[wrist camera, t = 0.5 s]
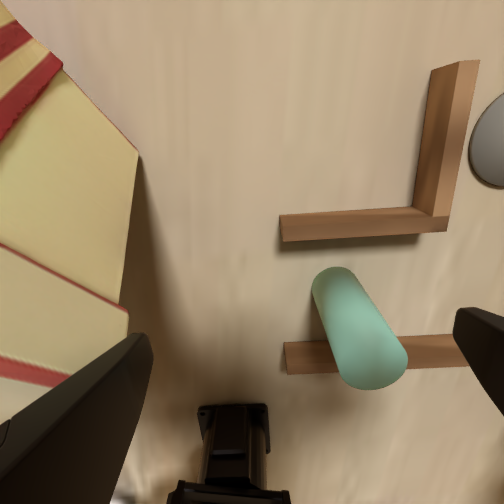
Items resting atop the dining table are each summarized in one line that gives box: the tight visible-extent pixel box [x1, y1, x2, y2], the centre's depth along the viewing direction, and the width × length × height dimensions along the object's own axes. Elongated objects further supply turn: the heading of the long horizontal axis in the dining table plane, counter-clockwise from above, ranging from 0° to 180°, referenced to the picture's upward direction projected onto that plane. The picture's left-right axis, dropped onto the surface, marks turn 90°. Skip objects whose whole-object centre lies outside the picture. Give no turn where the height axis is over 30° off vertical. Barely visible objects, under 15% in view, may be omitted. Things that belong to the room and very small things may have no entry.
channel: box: [280, 60, 480, 375], centre depth 20 cm, size 20×21×2 cm
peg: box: [312, 267, 408, 390], centre depth 19 cm, size 4×4×8 cm
